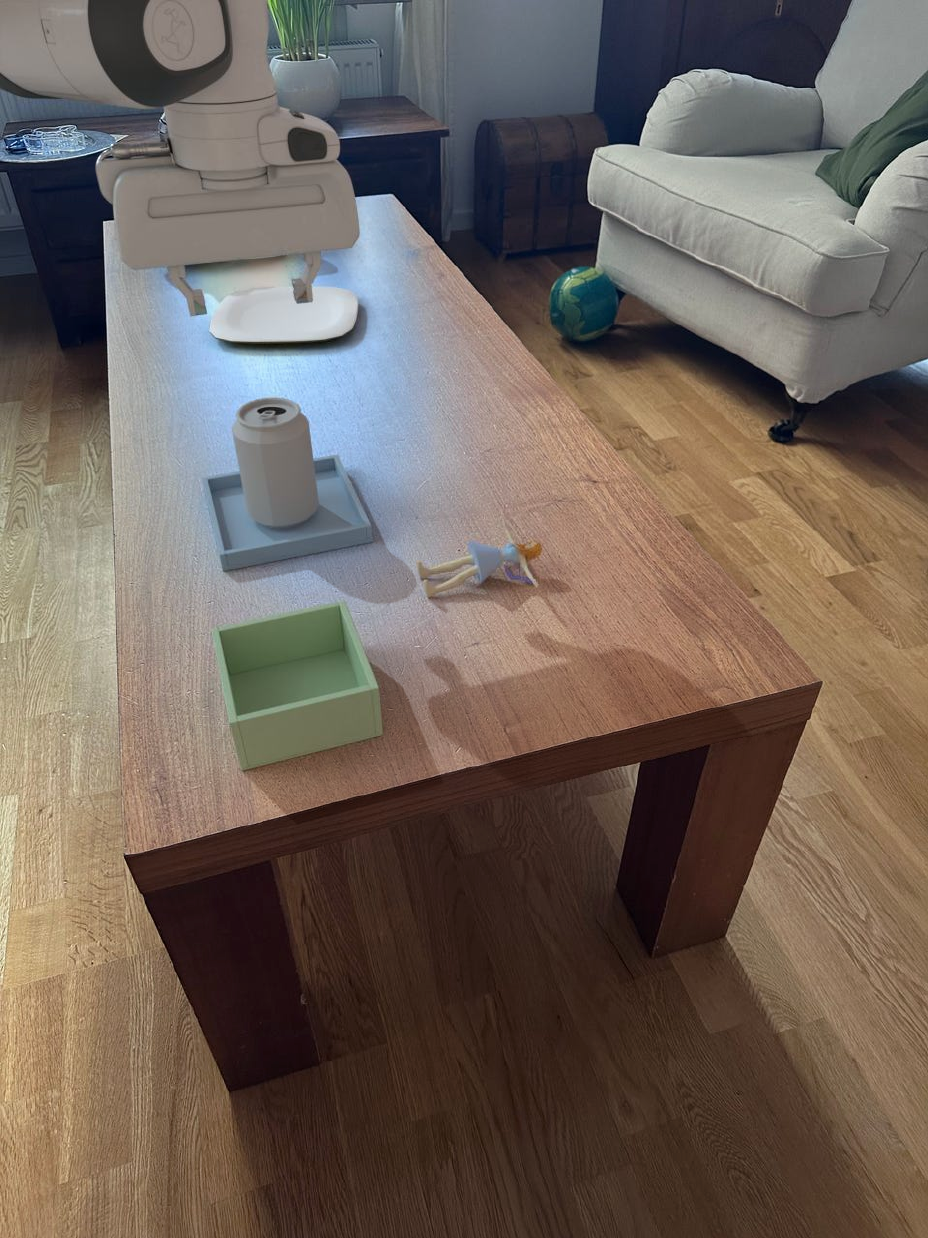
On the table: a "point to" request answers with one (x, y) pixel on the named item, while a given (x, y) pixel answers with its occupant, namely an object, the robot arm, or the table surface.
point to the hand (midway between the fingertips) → (251, 307)
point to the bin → (296, 684)
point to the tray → (257, 544)
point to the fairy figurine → (484, 563)
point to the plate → (284, 316)
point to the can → (275, 462)
